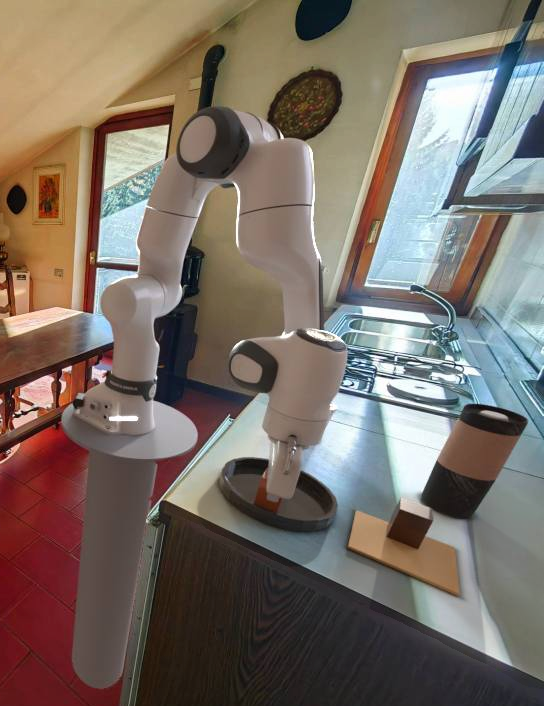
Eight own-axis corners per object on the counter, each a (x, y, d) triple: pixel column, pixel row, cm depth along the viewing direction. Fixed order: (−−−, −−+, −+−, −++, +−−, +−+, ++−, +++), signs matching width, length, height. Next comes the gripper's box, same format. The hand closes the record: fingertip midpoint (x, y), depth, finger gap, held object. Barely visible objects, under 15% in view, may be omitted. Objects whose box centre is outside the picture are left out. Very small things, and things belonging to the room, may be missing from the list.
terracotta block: (253, 503, 73) (261, 477, 71) (259, 493, 76) (267, 467, 74) (277, 513, 71) (286, 486, 69) (282, 503, 74) (291, 476, 71)
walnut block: (386, 536, 66) (399, 508, 64) (387, 524, 69) (400, 497, 66) (418, 549, 64) (433, 521, 61) (418, 536, 66) (432, 508, 64)
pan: (204, 496, 76) (207, 485, 75) (236, 456, 89) (239, 447, 88) (323, 549, 64) (328, 538, 63) (340, 494, 77) (344, 484, 76)
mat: (347, 548, 64) (348, 545, 64) (355, 512, 72) (356, 509, 72) (458, 596, 56) (459, 594, 56) (453, 549, 64) (454, 547, 64)
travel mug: (483, 514, 72) (540, 419, 65) (459, 523, 70) (515, 426, 62) (433, 489, 79) (478, 400, 71) (409, 497, 77) (454, 406, 69)
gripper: (318, 458, 57) (292, 530, 63) (312, 407, 73) (292, 468, 79) (269, 446, 60) (248, 516, 66) (273, 399, 76) (257, 458, 82)
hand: (272, 489), depth 72 cm, fingers open, 5 cm apart
